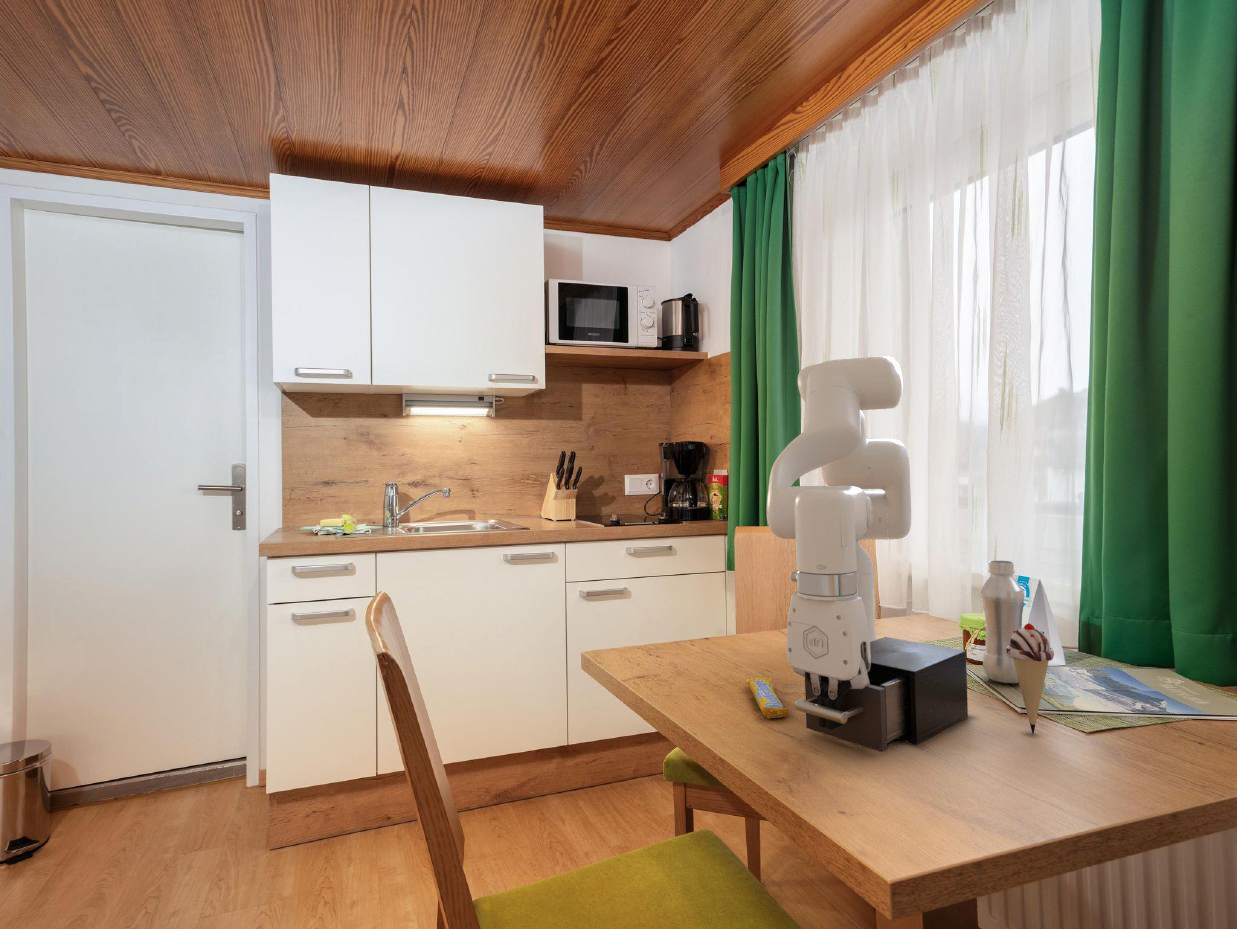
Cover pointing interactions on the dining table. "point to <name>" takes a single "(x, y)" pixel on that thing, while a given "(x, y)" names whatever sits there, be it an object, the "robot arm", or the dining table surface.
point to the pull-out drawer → (865, 711)
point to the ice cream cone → (1030, 666)
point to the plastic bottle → (1001, 620)
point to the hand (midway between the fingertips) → (831, 725)
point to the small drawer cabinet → (926, 683)
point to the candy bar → (766, 697)
